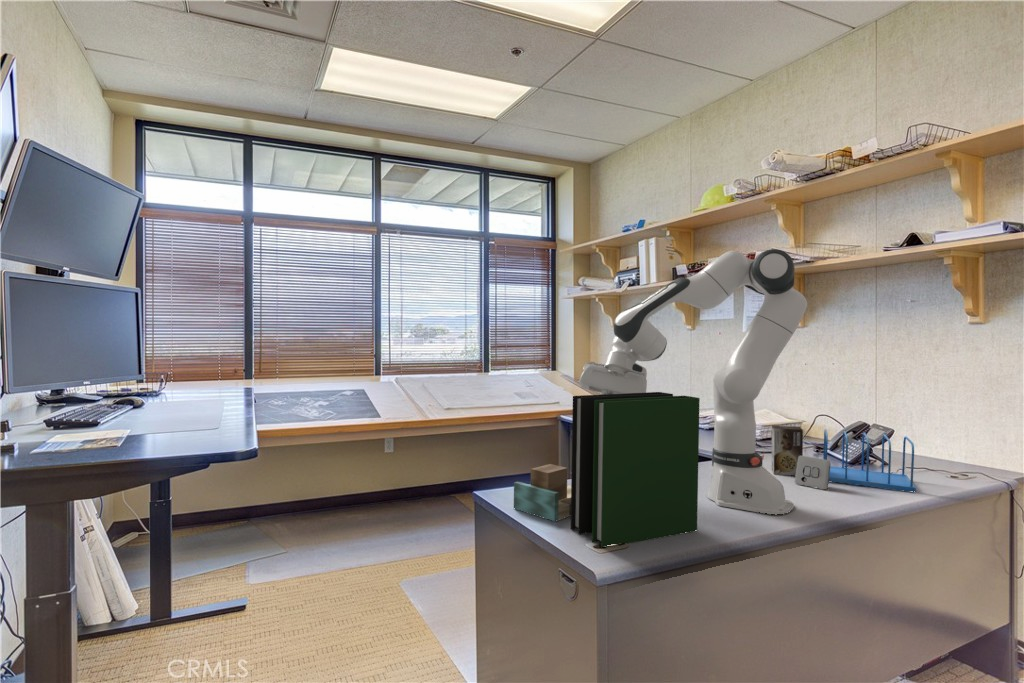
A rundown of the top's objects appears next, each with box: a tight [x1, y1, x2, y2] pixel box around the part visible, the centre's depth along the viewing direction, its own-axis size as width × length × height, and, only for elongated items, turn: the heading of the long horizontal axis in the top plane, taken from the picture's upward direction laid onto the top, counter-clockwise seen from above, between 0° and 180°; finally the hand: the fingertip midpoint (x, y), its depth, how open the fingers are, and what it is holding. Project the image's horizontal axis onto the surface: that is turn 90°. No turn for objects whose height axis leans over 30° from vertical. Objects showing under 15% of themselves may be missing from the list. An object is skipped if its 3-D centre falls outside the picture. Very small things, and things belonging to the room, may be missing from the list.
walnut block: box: [530, 463, 568, 500], centre depth 144 cm, size 6×8×8 cm
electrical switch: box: [794, 455, 831, 490], centre depth 172 cm, size 9×5×9 cm, turn 41°
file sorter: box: [822, 428, 917, 493], centre depth 179 cm, size 25×17×15 cm
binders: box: [570, 391, 701, 548], centre depth 130 cm, size 27×15×32 cm, turn 116°
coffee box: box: [770, 424, 804, 477], centre depth 187 cm, size 9×6×16 cm
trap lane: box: [513, 481, 571, 522], centre depth 147 cm, size 14×20×7 cm
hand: (606, 406), depth 161 cm, fingers closed
